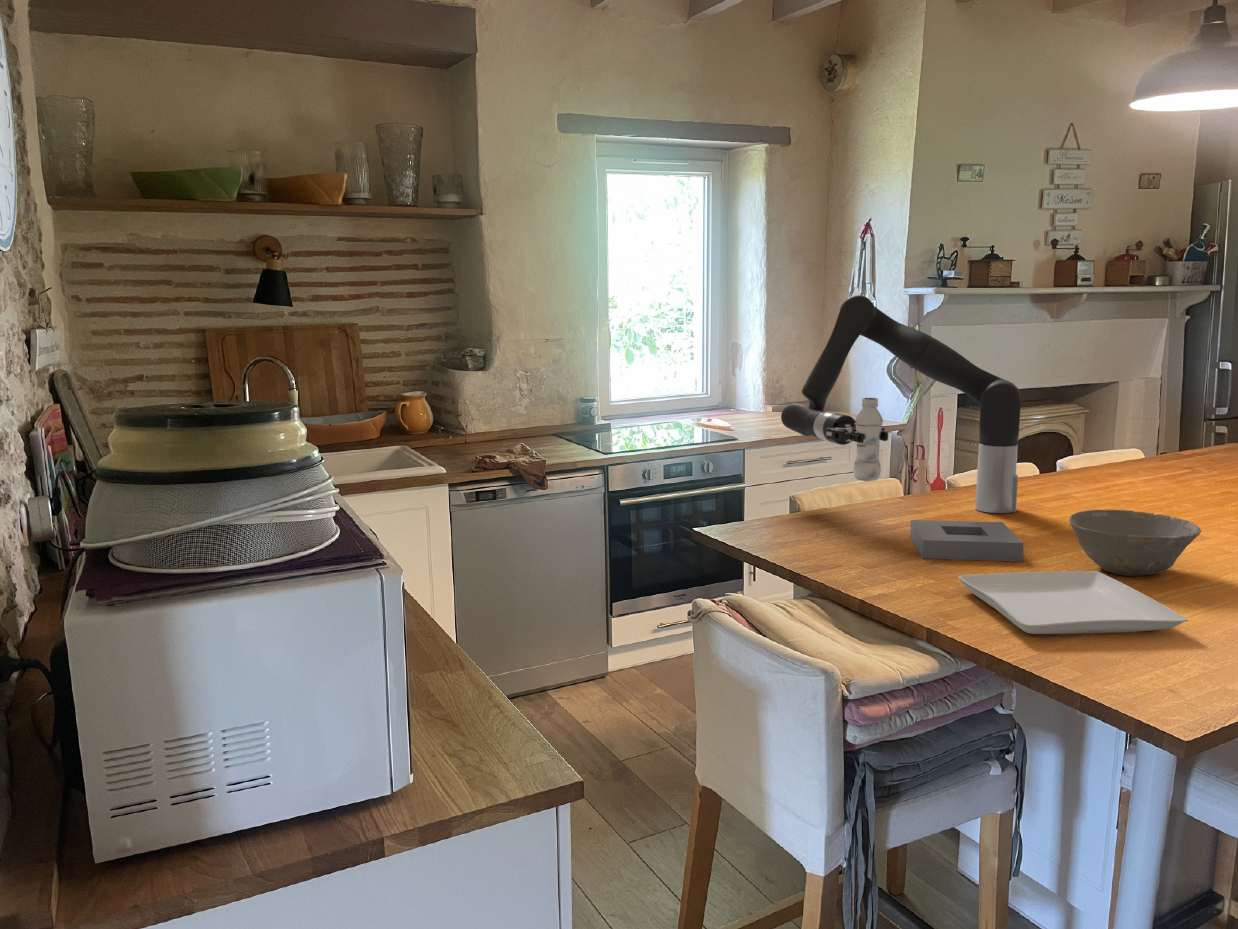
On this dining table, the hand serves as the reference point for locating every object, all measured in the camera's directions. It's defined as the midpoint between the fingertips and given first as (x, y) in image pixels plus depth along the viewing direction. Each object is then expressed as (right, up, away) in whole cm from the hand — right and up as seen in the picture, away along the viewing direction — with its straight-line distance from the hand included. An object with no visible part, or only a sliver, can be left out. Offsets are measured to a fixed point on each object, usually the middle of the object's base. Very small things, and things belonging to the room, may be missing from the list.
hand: (874, 437), depth 214 cm
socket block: (+15, -25, -16) cm, 33 cm away
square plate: (+17, -33, -56) cm, 67 cm away
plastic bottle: (-1, -11, +4) cm, 11 cm away
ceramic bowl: (+41, -28, -33) cm, 60 cm away
